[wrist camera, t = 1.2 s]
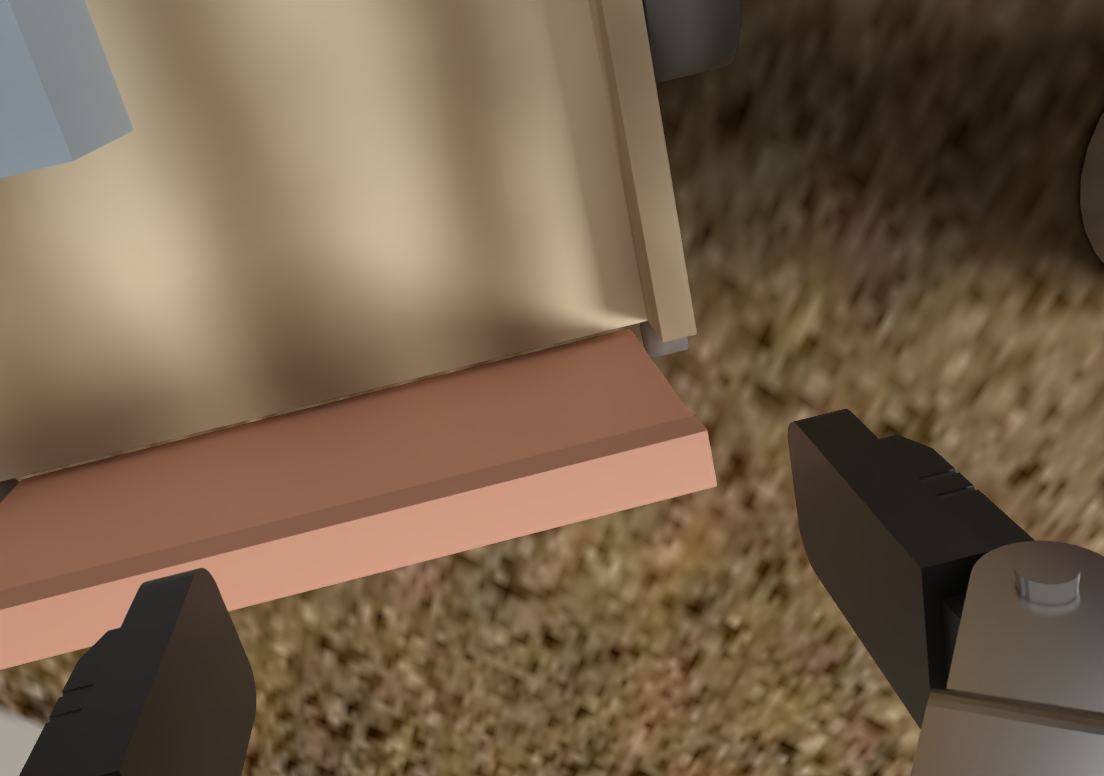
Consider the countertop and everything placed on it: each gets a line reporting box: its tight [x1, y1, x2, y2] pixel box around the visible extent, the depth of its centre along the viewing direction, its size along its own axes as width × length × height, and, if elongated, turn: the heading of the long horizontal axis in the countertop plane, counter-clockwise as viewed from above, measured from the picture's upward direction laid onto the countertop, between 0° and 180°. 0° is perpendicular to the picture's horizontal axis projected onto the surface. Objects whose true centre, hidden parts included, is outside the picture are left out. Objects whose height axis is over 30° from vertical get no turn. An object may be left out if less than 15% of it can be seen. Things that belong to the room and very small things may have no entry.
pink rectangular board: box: [0, 328, 717, 670], centre depth 26 cm, size 19×1×9 cm, turn 102°
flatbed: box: [0, 0, 741, 503], centre depth 27 cm, size 27×18×5 cm, turn 102°
